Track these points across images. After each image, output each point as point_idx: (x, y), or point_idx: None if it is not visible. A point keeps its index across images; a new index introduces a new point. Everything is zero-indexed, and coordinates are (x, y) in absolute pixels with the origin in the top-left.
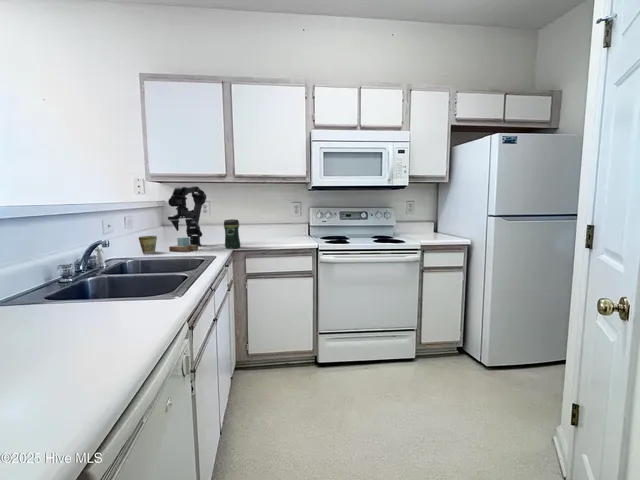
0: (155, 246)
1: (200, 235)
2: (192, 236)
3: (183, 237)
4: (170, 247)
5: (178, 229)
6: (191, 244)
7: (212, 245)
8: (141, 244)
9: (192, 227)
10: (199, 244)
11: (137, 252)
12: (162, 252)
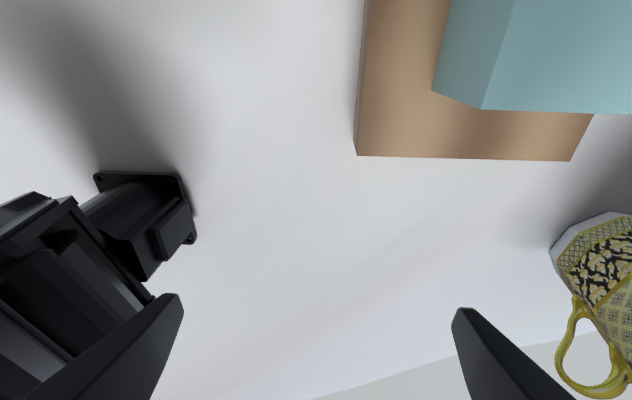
0: (618, 248)
1: (24, 203)
2: (122, 265)
3: (505, 89)
4: (571, 140)
5: (477, 327)
6: (188, 216)
7: (29, 37)
8: None
9: (14, 356)
10: (119, 182)
11: (556, 316)
12: (598, 157)
